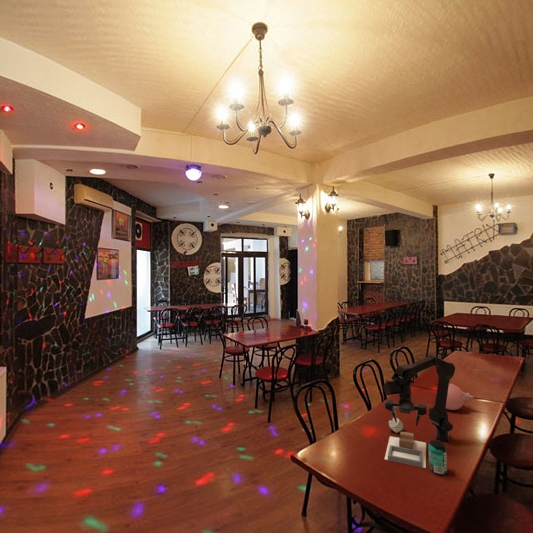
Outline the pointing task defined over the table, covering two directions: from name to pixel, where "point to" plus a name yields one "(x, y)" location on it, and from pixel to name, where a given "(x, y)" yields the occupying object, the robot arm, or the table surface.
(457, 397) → the balloon
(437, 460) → the beverage can
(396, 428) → the game die
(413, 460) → the mat
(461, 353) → the table surface
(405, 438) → the card box
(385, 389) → the robot arm
